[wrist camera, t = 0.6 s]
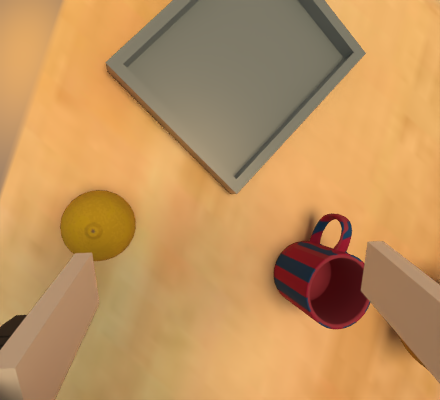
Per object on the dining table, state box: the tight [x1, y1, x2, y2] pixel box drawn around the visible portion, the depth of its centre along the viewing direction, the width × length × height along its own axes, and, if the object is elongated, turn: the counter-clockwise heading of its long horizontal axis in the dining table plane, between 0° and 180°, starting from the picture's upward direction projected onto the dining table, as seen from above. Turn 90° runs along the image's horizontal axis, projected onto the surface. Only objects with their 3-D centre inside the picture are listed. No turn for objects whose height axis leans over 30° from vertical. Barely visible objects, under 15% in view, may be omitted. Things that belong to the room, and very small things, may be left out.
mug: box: [274, 214, 370, 329], centre depth 31 cm, size 7×10×7 cm
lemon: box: [60, 190, 135, 261], centre depth 26 cm, size 6×6×8 cm
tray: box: [106, 0, 366, 194], centre depth 31 cm, size 20×16×2 cm
